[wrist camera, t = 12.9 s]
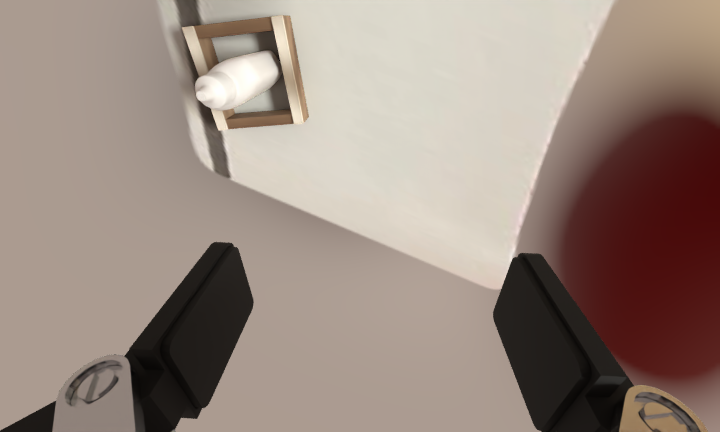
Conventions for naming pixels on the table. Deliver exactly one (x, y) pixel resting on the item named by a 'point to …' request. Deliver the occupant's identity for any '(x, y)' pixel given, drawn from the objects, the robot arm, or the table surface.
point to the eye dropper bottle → (238, 80)
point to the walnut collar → (282, 28)
